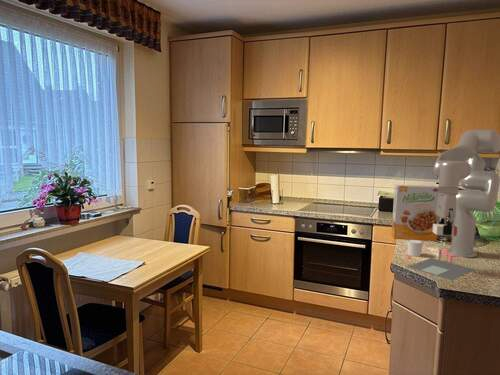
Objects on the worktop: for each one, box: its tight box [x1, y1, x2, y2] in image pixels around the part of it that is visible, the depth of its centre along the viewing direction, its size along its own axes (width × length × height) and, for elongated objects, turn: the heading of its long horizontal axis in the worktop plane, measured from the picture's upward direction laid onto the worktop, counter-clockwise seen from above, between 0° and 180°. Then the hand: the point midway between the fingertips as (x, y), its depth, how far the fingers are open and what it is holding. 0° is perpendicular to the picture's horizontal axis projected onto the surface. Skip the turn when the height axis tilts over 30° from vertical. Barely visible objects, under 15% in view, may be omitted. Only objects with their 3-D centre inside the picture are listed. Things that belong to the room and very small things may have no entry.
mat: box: [406, 257, 476, 281], centre depth 160 cm, size 22×19×1 cm
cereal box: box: [391, 184, 439, 242], centre depth 209 cm, size 22×6×30 cm, turn 82°
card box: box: [432, 224, 458, 237], centre depth 159 cm, size 8×6×4 cm
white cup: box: [406, 240, 424, 257], centre depth 179 cm, size 7×7×7 cm
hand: (444, 232), depth 159 cm, fingers closed on card box, 5 cm apart
